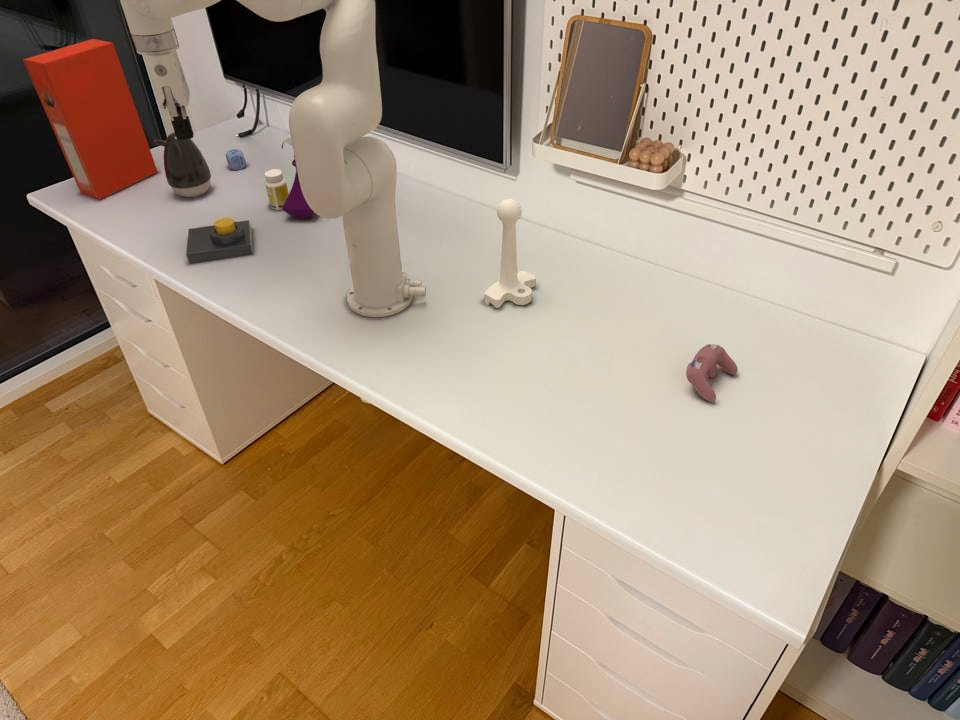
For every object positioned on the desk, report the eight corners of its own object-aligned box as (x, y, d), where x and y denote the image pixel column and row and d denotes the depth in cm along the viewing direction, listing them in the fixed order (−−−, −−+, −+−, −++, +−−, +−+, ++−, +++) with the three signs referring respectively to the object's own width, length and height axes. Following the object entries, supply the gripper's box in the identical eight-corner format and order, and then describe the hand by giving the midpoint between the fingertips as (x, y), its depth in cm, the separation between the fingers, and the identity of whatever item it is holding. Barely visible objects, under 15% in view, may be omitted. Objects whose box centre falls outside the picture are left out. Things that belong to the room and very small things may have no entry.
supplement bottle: (293, 201, 167) (286, 168, 161) (287, 210, 163) (280, 177, 158) (274, 200, 167) (266, 168, 162) (267, 210, 163) (259, 176, 158)
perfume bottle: (325, 207, 164) (311, 133, 152) (316, 222, 158) (301, 147, 147) (294, 206, 165) (278, 132, 153) (284, 221, 159) (267, 146, 147)
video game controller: (715, 371, 119) (705, 335, 116) (740, 372, 115) (730, 335, 113) (689, 402, 113) (677, 366, 110) (715, 404, 110) (703, 366, 107)
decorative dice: (231, 171, 180) (227, 156, 178) (228, 165, 183) (224, 151, 180) (247, 167, 182) (243, 153, 179) (243, 162, 184) (239, 147, 182)
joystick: (519, 277, 139) (521, 185, 126) (548, 292, 135) (552, 199, 122) (480, 300, 134) (478, 206, 121) (508, 317, 129) (509, 221, 116)
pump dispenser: (169, 188, 173) (149, 129, 163) (211, 180, 176) (194, 121, 167) (173, 205, 166) (153, 144, 156) (218, 196, 169) (200, 136, 159)
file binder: (79, 193, 172) (22, 58, 152) (137, 166, 183) (91, 38, 163) (100, 200, 169) (44, 64, 148) (158, 173, 180) (113, 42, 160)
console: (251, 229, 156) (246, 211, 153) (252, 254, 148) (248, 236, 145) (191, 238, 154) (185, 220, 151) (189, 264, 146) (183, 245, 143)
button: (235, 224, 150) (233, 216, 149) (236, 233, 147) (233, 225, 146) (216, 227, 149) (214, 219, 148) (216, 236, 146) (214, 228, 145)
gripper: (174, 50, 123) (204, 149, 135) (179, 28, 134) (205, 122, 146) (130, 54, 121) (163, 154, 133) (138, 32, 132) (168, 126, 144)
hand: (185, 137), depth 139 cm, fingers closed
